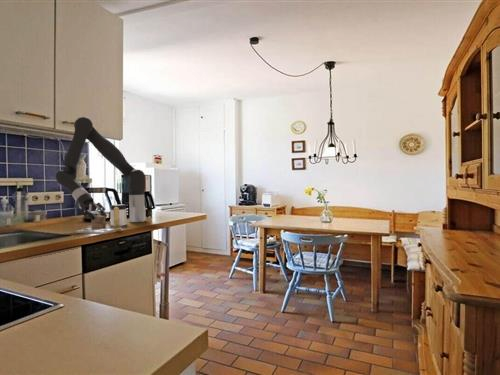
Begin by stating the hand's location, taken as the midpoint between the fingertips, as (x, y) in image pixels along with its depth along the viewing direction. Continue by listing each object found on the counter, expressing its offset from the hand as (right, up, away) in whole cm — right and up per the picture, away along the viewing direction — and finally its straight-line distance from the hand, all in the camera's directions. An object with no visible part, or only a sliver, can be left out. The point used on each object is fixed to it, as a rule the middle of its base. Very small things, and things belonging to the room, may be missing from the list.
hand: (100, 218), depth 175 cm
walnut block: (-1, -6, 0) cm, 6 cm away
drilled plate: (+2, -6, -10) cm, 12 cm away
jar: (+4, -6, +15) cm, 16 cm away
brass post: (+11, -6, -3) cm, 12 cm away
